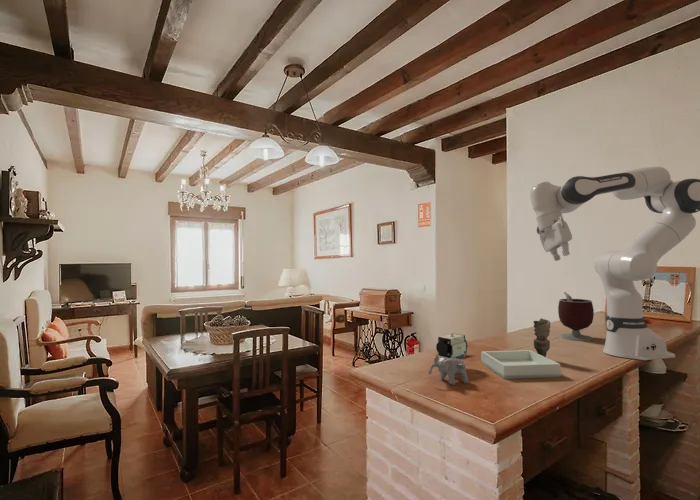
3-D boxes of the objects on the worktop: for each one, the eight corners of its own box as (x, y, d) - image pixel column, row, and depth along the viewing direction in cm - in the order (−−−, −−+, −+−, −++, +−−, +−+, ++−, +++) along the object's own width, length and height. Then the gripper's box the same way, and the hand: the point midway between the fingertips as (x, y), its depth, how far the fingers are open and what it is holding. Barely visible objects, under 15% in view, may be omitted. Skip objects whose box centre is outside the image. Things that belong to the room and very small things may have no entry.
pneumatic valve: (436, 370, 128) (435, 334, 128) (456, 363, 135) (455, 329, 136) (449, 374, 124) (449, 336, 124) (470, 367, 131) (469, 331, 131)
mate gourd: (601, 341, 167) (600, 295, 167) (569, 341, 167) (568, 295, 168) (580, 333, 183) (579, 291, 183) (551, 334, 183) (550, 292, 183)
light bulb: (550, 358, 140) (549, 317, 140) (552, 362, 135) (551, 320, 135) (533, 357, 142) (532, 317, 142) (535, 361, 137) (534, 319, 137)
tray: (530, 361, 137) (530, 350, 137) (560, 377, 119) (560, 364, 119) (481, 362, 136) (481, 351, 136) (503, 378, 118) (503, 365, 118)
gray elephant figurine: (473, 383, 115) (473, 357, 116) (448, 390, 108) (448, 362, 108) (447, 376, 122) (448, 352, 123) (423, 382, 115) (423, 357, 116)
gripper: (569, 213, 136) (582, 250, 133) (551, 228, 156) (561, 261, 153) (551, 217, 137) (563, 254, 134) (535, 232, 157) (545, 264, 153)
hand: (562, 258), depth 143 cm, fingers open, 8 cm apart
